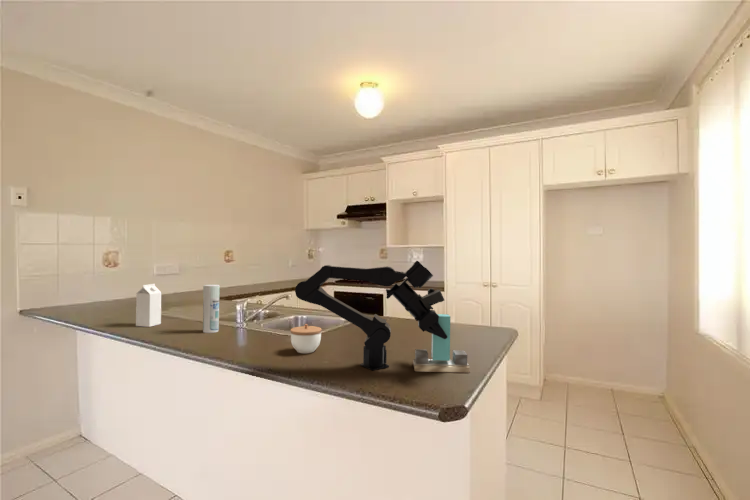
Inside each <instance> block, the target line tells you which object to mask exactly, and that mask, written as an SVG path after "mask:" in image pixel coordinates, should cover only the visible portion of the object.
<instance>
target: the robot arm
mask: <svg viewBox="0 0 750 500" xmlns="http://www.w3.org/2000/svg"><path fill="white" fill-rule="evenodd" d="M433 277H434V274H433V273H432V272H431V271H430V270H429V269H428V268H427V267H426V266H424V265H423V264H422V263H420V261H419V260H416V261H414V263H413V264H412V265H411V266H410V267H409V268H408V269H407V270H406V271H405V272H404V271H397V270H395V269H394V268H393V267H391V266H389V265H388V266H377V267H370V268H366V267H365V268H363V267H349V266H348V267H347V266H334V265H331V264H327V265H324V266H323V265H322V267H321V268H320V269H319V270H317V272H315V273H314V274H313V275H311V276H310V277H309V278H308V279H306V280H303V281H300V282H297V284H296V286H295V288H294V292H295V296H296V297H297V299H298V300H301V301H303V302H306V303H310V304H313V305H317V306H321V307H323V308H324V309H326V310H328V311H330V312H331V313H333V314H335V315H337V316H338V317H340V318H342V319H343V320H345V321H347V322H348V323H350V324H353V325H354V326H356V327H358V328H359V329H361V330H362V332H364V334H365V335H366V336H365V339H364V342H363V344H364V346H363V354H362V355H363V358H362V359H363V362H361V363H360V365H359V366H361V367H363V368H366V369H368V370H370V371H377V370H380V369H381V370H382V369H385V368H389V364H387V348H386V347H387V345H385V344H386V343H387V342H388V341H389V340H390V338H391V333H392V331H391V330H392V328H391V325H390V324H389V323H388V322H387V318H382V317H381V316H379V314H376V313H375V314H374V315H373V317H372V316H369V315H366V314H364V313H362V312H361V311H358V310H357V309H355V308H353V307H352V306H350V305H348V304H346V303H344V302H343V301H341V300H339V299H337V298H336V297H334V296H332V295H331V294H329V293H327V291H326V290H325V289H324V288H323V287H322V286H323V285H324V284H325V283H326V282H327V281H328V280H329V279H338V280H349V281H350V280H352V281H364V282H365V281H366V282H369V283H372V284H375V285H379V286H383V287H391V286H392V287H391V288H390V289H389V288H386V289H385V292H386V297H385V298H386V299H388V300H389V298H391V297H392V296H393V297H394V298H395V299H396V300H397V302H399V303H400V305H401V306H402V307H403V308H404V309H405V311H406V312H408V313H409V314H410V315H411V316H412V317H413V318H414V320H415V321H416V322H417V325H418V328H419V329H420V330H421V331H422V332H427V333H430V334H431V335H432V334H434V335H436V336H439V337H441V338H443V339H446V338H447V335H446V334H445V332H444V330H443V329H442V327H441V326H440V324H439V323H438V320H439V316H438V314H439V313H437V312H436V310H435V309H434V308H433V306H434V305H436V304H439V303H442V302H444V301H445V298H444V296H443V295H444V294H443V293H442V291H441V290H440V289H436V290H435V289H434V288H429V289H427V294H425V295H421V294H418V293H417V292H416V291H415V290H414V289H417V288H419V289H421V288H422V287H423V286H425V284H427V282H429V281H430V280H431V279H432V278H433ZM399 281H401V283H399V284H398V283H396V282H399ZM412 287H413V288H414V289H413V288H412ZM433 309H434V310H433Z"/></svg>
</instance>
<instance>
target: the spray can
mask: <svg viewBox="0 0 750 500" xmlns="http://www.w3.org/2000/svg"><path fill="white" fill-rule="evenodd" d="M202 287H203V289H202V298H203V299H202V305H203V306H202V332H203V333H204V334H213V333H218V332H219V331H220V288H221V287H220V284H203V285H202Z"/></svg>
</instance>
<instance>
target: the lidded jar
mask: <svg viewBox="0 0 750 500" xmlns="http://www.w3.org/2000/svg"><path fill="white" fill-rule="evenodd" d="M321 339H322V328H321V327H319V326H313V325H308V323H305V324H304V326H294V327H292V328H291V329H290V342H291V346H292V347H293V348H294V350H295V351H296V352H297V353H298V354H311V353H314V352H315V350H316V349H317V348H319V346H320V344H321Z"/></svg>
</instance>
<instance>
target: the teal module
mask: <svg viewBox="0 0 750 500" xmlns="http://www.w3.org/2000/svg"><path fill="white" fill-rule="evenodd" d="M437 314H438V316H439V320H438V323H439V324H440V326H441V327H442V329H443V330H444V332H445V334H446V335H447V338H446V339H443V338H441V337H439V336H436V335H434V334H432V333H431V351H430V353H431V355H430V357H431V359H433V360H443V361H450V360H451V315H450V314H444V313H442V314H441V313H437Z"/></svg>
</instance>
